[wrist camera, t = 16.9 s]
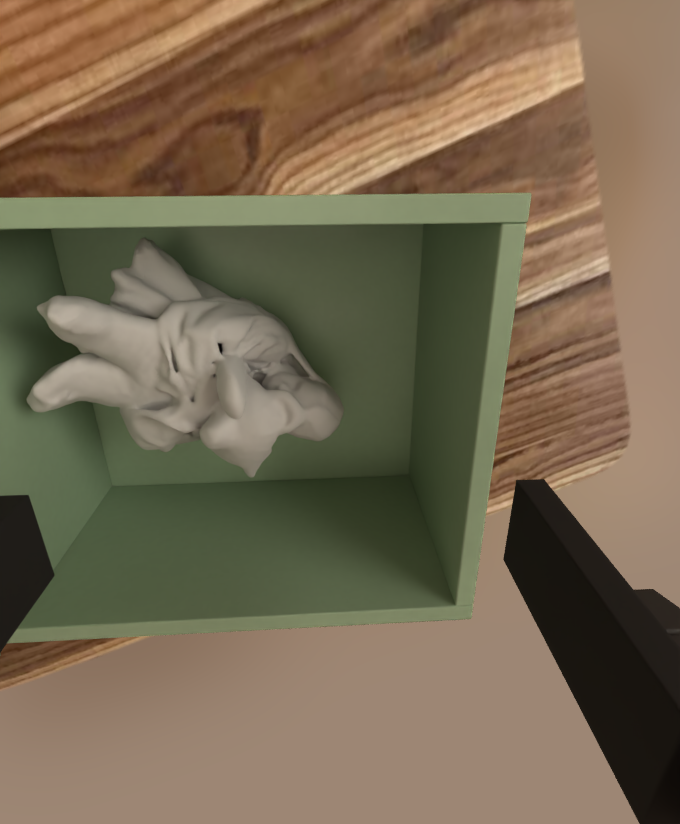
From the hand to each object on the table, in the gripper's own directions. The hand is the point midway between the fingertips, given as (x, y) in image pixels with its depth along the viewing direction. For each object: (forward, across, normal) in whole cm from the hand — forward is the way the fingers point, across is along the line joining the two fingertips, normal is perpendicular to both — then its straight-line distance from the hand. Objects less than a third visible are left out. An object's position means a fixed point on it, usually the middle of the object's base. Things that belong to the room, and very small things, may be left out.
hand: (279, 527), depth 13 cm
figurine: (+14, -5, +1) cm, 15 cm away
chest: (+15, -3, 0) cm, 15 cm away
